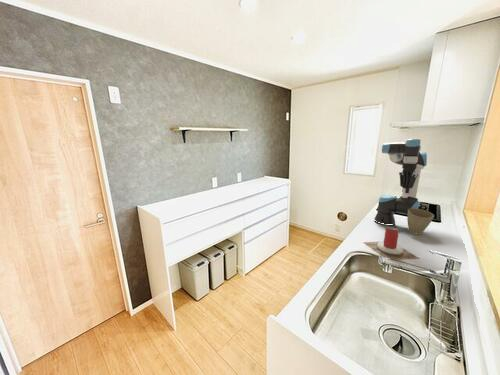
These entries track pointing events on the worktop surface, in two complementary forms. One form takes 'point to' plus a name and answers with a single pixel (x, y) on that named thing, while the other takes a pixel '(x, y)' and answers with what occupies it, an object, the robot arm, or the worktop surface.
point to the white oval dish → (396, 251)
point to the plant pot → (418, 220)
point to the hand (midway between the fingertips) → (404, 197)
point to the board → (395, 257)
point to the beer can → (391, 237)
